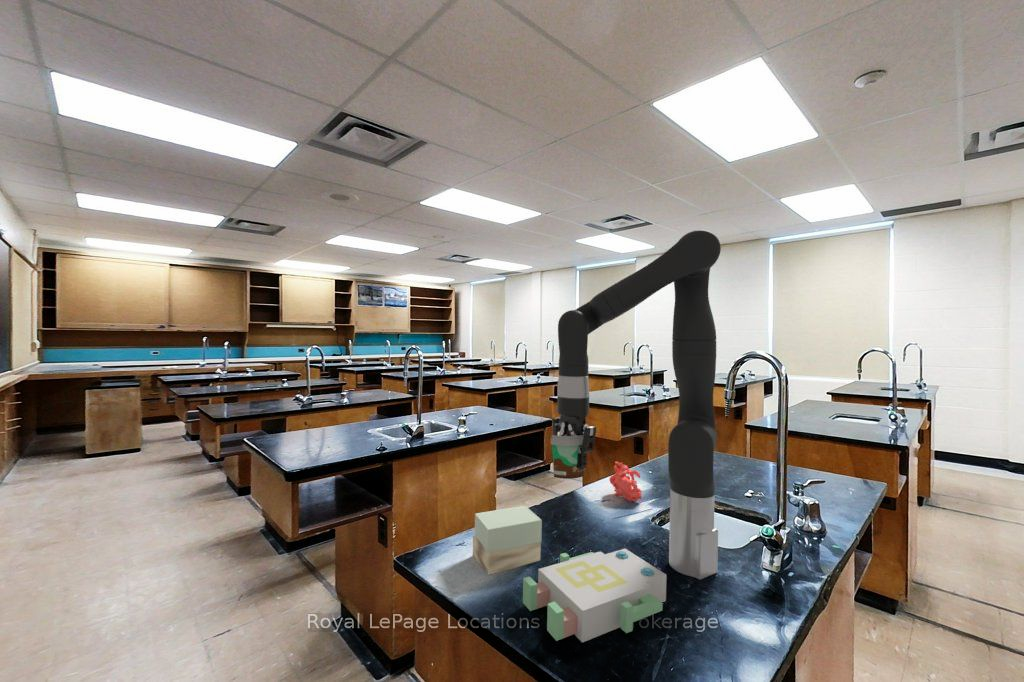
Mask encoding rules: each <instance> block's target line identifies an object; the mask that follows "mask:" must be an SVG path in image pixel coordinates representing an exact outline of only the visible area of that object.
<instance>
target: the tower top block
mask: <svg viewBox="0 0 1024 682" xmlns="http://www.w3.org/2000/svg"><path fill="white" fill-rule="evenodd" d="M542 525H543V519H541V518H540V517H539V516H537V514H536V513H534V512H533V511H532V510H531V509H530V508H529V507H527V506H526V505H521V506H514V507H508V508H507V507H506V508H502V509H500V508H499V509H495V510H490V511H489V510H488V511H482V512H477V513H474V536H476V537H477V539H478V540H479V541H480V543H481V544H482V545H483V547H484V548H485V549H486V551H487V552H488V553H489V552H494V551H499V550H504V549H509V548H514V547H519V546H524V545H529V544H534V543H539V542H541V543H542V537H543V536H542V532H543V529H542V528H543V527H542Z"/></svg>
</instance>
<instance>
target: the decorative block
mask: <svg viewBox="0 0 1024 682" xmlns="http://www.w3.org/2000/svg"><path fill="white" fill-rule="evenodd" d="M537 569H538V571H537V572H538V573H537V582H536V581H535V580H534V579H533V578H532V577H531V576H527V577H523V578H522V603H523V605H524V606H525V607H526V609H528V611H529V612H532V611H534V610H538V609H540V608H543V607H547V608H546V609H547V613H546V614H547V616H546V617H547V618H546V619H547V620H546V630H547V632H548V633H549V634H550V636H551V637H552V638H553V639H554V640H555V641H556V642H558V641H559V640H563V639H565V638H567V637H570V636H573V635H574V636H575V637H576V638H577V639H578V640H579V641H580V642H581V643H585V642H587V641H590V640H592V639H595V638H597V637H600V636H602V635H605V634H607V633H609V632H611V631H614V630H617V629H621V630H622V631H623V632H624V633H625V634H628V633H631V632H633V630H634V629H633V628H634V627H633V626H634V623H635V622H637V621H640V620H642V619H645V618H648V617H651V616H652V615H654V614H657V613H660V612H662V611H663V605H664V603H662V602H665V601H666V602H667V574H666V573H665V572H663V571H661V570H660V569H658V568H656V567H655V566H653V565H652V564H650V563H649V562H647V561H645V560H644V559H642V558H641V557H639V556H638V555H636V554H634V553H633V552H632V551H630V550H628V549H627V548H623V549H619V550H614V551H612V552H608V553H604V552H602V551H597V552H593V551H591V552H587V553H584V554H580V555H576V556H573V557H570V555H569V554H568V553H566V552H564V553H563V552H562V553H560V554H559V562H558V563H554V564H551V565H548V566H544V567H541V568H537ZM666 602H665V603H666Z"/></svg>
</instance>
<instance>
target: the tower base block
mask: <svg viewBox="0 0 1024 682" xmlns="http://www.w3.org/2000/svg"><path fill="white" fill-rule="evenodd" d="M541 544H542V541H541V542H539V543H534V544H529V545H524V546H519V547H514V548H509V549H504V550H499V551H494V552H489V553H488V552H487V551H486V549H485V548H484V547H483V545H482V544H481V543H480V541H479V540H478V539H477V537H476V536H475V535H473V536H472V557H473V558H474V559H475V560H476V561H477V562H478V564H480V566H481V567H482V569H484V570H485V572H486V571H487V572H488V573H489V574H488V573H487V572H486V573H487V574H488V575H489V576H491V575H490V574H492V575H495V574H498V573H502V572H505V571H508V570H512V569H515V568H519V567H522V566H526V565H528V564H533V563H536V562H540V561H541V550H542V549H541V548H542V547H541ZM494 573H495V574H494Z"/></svg>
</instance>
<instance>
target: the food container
mask: <svg viewBox="0 0 1024 682" xmlns="http://www.w3.org/2000/svg"><path fill="white" fill-rule="evenodd" d="M583 436H584V435H579V436H569V435H567V434H563V435H561V436H559V435H558V436H555V435H553V434H552V435H551V438H550V445H551V447H552V449H551V450H552V465H553V466H552V467H553V478H557V479H566V480H567V479H568V480H569V479H571V480H572V479H579V478H582V477H584V476H585V475H586V468H585V469H577V458H578V451H577V450H578V445H580V446H581V448H582V445H583Z"/></svg>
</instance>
